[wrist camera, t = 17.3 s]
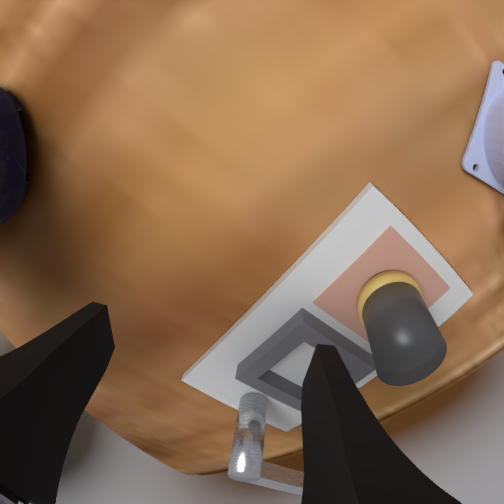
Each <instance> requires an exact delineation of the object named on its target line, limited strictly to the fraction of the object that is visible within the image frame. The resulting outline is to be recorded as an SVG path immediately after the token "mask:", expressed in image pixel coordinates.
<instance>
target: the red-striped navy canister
mask: <svg viewBox="0 0 504 504" xmlns="http://www.w3.org/2000/svg"><path fill="white" fill-rule="evenodd" d="M19 110H22V109H21V107H20V105H19V103H18V101H17V99H16V98H15V97H14V96H13V95H12V93H11V92H10V91H8V92H5V90H4V89H2V88H1V87H0V225H1V224H2V223H4V222H5V221H7V220H8V219H10V218H11V217H12V215H13V214H14V213H15V211H16V210H17V208H18V206H19V204H20V203H22V201H23V199H24V196H25V194H26V191H27V187H28V183H29V180H28V181H26V170H27V158H26V143H25V138H24V131H23V127H22V123H21V120H20V117H19V114H18V111H19Z"/></svg>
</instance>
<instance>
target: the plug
mask: <svg viewBox="0 0 504 504" xmlns="http://www.w3.org/2000/svg"><path fill="white" fill-rule="evenodd" d="M356 307H357V312H358V315H359V319H360V322H361V324H362V326H363V327H364V328H365V329H366V333H367V337H368V340H369V344H370V348H371V352H372V356H373V360H374V364H375V368H376V372H377V375H378V377H379V379H380V380H381V381H383V382H384V383H386V384H389V385H395V386H402V385H408V384H412V383H415V382H418V381H420V380H422V379H424V378H426V377H427V376H429V375H430V374H431V373H433V372H434V371H435V370H436V369H437V368H438V367H439V366H440V364H441V363H442V361H443V359H444V357H445V355H446V349H447V348H446V343H445V341H444V339H443V336H442V334H441V332H440V331H439V329H438V327H437V325H436V323H435V321H434V319H433V317H432V315H431V313H430V311H429V309H428V308H427V306H426V304H425V302H424V295H423V292H422V290H421V288H420V287H419V285H418V283H417V281H416V280H415V279H414V277H413V276H411V275H410V274H408V273H406V272H404V271H399V270H386V271H382V272H379V273H377V274H375V275H374V276H372V277H371V278H370V279H368V280H367V281H366V282H365V284H364V285H363V287H362V288H361V290H360V292H359V294H358V297H357V301H356Z"/></svg>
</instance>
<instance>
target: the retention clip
mask: <svg viewBox="0 0 504 504" xmlns="http://www.w3.org/2000/svg"><path fill="white" fill-rule="evenodd" d="M266 414H267V399H266V398H265V397H264V396H262V395H259V394H255V393H249V394H245V395H243V396H242V397H241V398H240V402H239V408H238V414H237V420H236V427H235V433H234V439H233V445H232V451H231V457H230V463H229V469H228V477H230V478H231V479H233V480H236V481H240V482H249V483H253V484H257V485H260V486H264V487H268V488H273V489H276V490H280V491H285V492H289V493H295V494H299V495H302V492H303V480H304V472H300V471H296V470H292V469H289V468H285V467H281V466H278V465H275V464H271V463H268V462H265V461H262V458H263V447H264V436H265V425H266Z"/></svg>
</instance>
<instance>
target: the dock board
mask: <svg viewBox="0 0 504 504" xmlns="http://www.w3.org/2000/svg"><path fill="white" fill-rule="evenodd" d="M389 226H392V227H393V228H394V229H395V230H396V231H397V232H398V233H399V234H400V235H401V236H402V237H403V238H404V239H405V240H406V241H407V242H408V243H409V244H410V245H411V246H412V247H413V248H414V249H415V250H416V251H417V252H418V253H419V254H420V256H421V257H422V258H423V259H424V260H425V261H426V262H427V263H428V264H429V265H430V266H431V267H432V268H433V269H434V270H435V271H436V272H437V274H438V275H439V276H440V277H441V278H442V279H443V280H444V281H445V282H446V283H447V285H448V286H449V287H450V289H449V290H448V291H447V292H446V293H445V294H444V295H443V296H441V297H440V298H439V299H438V300H437V301H436V302H435V303H434V304H433V305H432V306H431V307H430V308H428V309H429V311H430V313H431V315H432V317H433V319H434V321H435V323H436V325H437V327H439V326H440V325H441V324H443V323H444V322H445V321H446V320H447V319H448V318H449V317H450V316H452V315H453V314H454V313H455V312H456V311H457V310H458V309H459V308H460V307H461V306H462V305H463V304H464V303H466V302H467V301H468V300H469V299H470V298H471V297H472V296H473V295H474V294H473V293H472V292H471V290H470V289H469V288H468V287H467V285H466V284H465V283H464V282H463V280H462V279H461V278H460V277H459V276H458V274H457V273H456V272H455V271H454V270H453V268H452V267H451V266H450V265H449V264H448V263H447V261H446V260H445V259H444V258H443V257H442V256H441V255H440V253H439V252H438V251H437V250H436V249H435V248H434V247H433V246H432V245H431V243H430V242H429V241H428V240H427V239H426V238H425V237H424V236H423V235H422V234H421V233H420V232H419V230H418V229H417V228H416V227H415V226H414V225H413V224H412V223H411V222H410V221H409V220H408V219H407V218H406V217H405V216H404V215H403V214H402V213H401V212H400V211H399V210H398V209H397V208H396V207H395V206H394V205H393V204H392V203H391V202H390V201H389V200H388V199H387V198H386V197H385V196H384V195H383V194H382V193H381V192H380V191H379V190H378V189H377V188H376V187H375V186H373V185H372V184H371V183H370V182H369V183H368V184H367V185H366V186H365V188H364V189H363V190H362V191H361V192H360V193H359V194H358V195H357V196H356V198H355V199H354V200H353V201H352V202H351V203H350V204H349V205H348V206H347V207H346V208H345V210H344V211H343V212H342V213H341V214H340V215H339V216H338V217H337V218H336V219H335V220H334V221H333V222H332V224H331V225H330V226H329V227H328V228H327V229H326V230H325V231H324V232H323V233H322V234H321V235H320V236H319V237H318V239H317V240H316V241H315V242H314V243H313V244H312V245H311V246H310V247H309V248H308V249H307V250H306V251H305V252H304V253H303V254H302V255H301V256H300V258H299V259H298V260H297V261H296V262H295V263H294V264H293V265H292V266H291V267H290V268H289V269H288V270H287V271H286V272H285V273H284V274H283V275H282V276H281V277H280V278H279V279H278V280H277V281H276V282H275V283H274V284H273V285H272V287H271V288H270V289H269V290H268V291H267V292H266V293H265V294H264V295H263V296H262V297H261V298H260V299H259V300H258V301H257V302H256V303H255V304H254V305H253V306H252V307H251V308H250V309H249V310H248V311H247V312H246V313H245V314H244V315H243V316H242V317H241V318H240V319H239V320H238V321H237V322H236V323H235V324H234V325H233V326H232V327H231V328H230V329H229V330H228V331H227V332H226V333H225V334H224V335H223V336H222V337H221V338H220V339H219V340H218V341H217V342H216V343H215V344H214V345H213V346H212V347H211V348H210V349H208V350H207V351H206V352H205V353H204V354H203V355H202V356H201V357H200V358H199V359H198V360H197V361H196V362H195V363H194V364H193V365H192V366H191V367H190V368H189V369H188V370H187V371H186V372H185V373H184V374H183V376H182V379H181V381H183V382H185V383H187V384H189V385H190V386H192V387H194V388H196V389H198V390H200V391H201V392H203V393H205V394H207V395H209V396H211V397H213V398H215V399H217V400H219V401H221V402H223V403H225V404H227V405H229V406H231V407H233V408H235V409H237V410H238V408H239V402H240V398H241V397H242V396H243V395H245V394H249V393H255V394H259V395H262V396H264V397H265V398H266V399H267V414H266V423H267V424H269V425H272V426H274V427H276V428H279V429H281V430H283V431H286V432H287V431H289V430H291V429H293V428H295V427H297V426H298V425H300V424H302V419H301V400H302V384H303V380H304V378H305V375H306V372H307V370H308V367H309V364H310V362H311V359H312V356H313V353H314V350H315V348H316V345H317V344H324V345H333V346H335V347H336V348H337V350H338V352H339V354H340V356H341V358H342V360H343V362H344V364H345V366H346V368H347V370H348V372H349V373H350V375H351V377H352V379H353V381H354V383H355V384H356V386H357V388H360V387H361V386H363V385H364V384H366V383H367V382H369V381H370V380H372V379H373V378H374V377H376V376H377V372H376V368H375V364H374V360H373V356H372V352H371V348H370V344H369V342H367V341H366V340H365V339H363V338H362V337H360V336H359V335H357V334H356V333H355V332H353V331H352V330H350V329H349V328H347V327H346V326H345V325H343V324H342V323H340V322H339V321H337V320H336V319H334V318H333V317H332V316H330V315H329V314H327V313H326V312H324V311H323V310H322V309H320V308H319V307H317V306H316V305H314V304H313V301H314V300H315V299H316V298H317V297H318V296H319V295H320V294H321V293H322V292H323V291H324V290H325V289H326V288H327V287H328V286H330V285H331V284H332V283H333V282H334V281H335V280H336V279H337V278H338V277H339V276H340V275H341V274H342V273H343V272H344V271H345V270H346V269H347V268H348V267H349V266H350V265H351V264H352V263H353V262H354V261H355V260H356V259H357V258H358V257H359V256H360V255H361V254H362V253H363V252H364V251H365V250H366V249H367V248H368V247H369V246H370V245H371V244H372V243H373V242H374V241H375V240H376V239H377V238H378V237H379V236H380V235H381V234H382V233H383V232H384V231H385V230H386V229H387V228H388V227H389Z"/></svg>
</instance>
